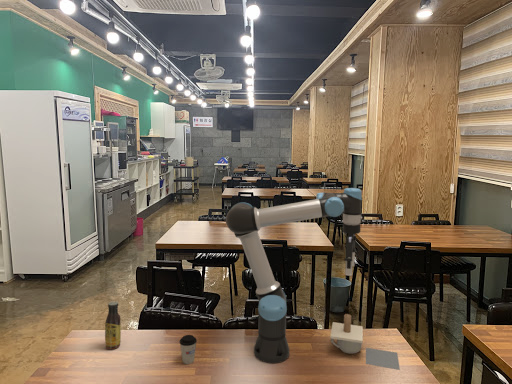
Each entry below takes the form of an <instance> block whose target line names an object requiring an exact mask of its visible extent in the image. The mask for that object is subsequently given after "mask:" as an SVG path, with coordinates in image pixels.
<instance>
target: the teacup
mask: <svg viewBox="0 0 512 384" xmlns="http://www.w3.org/2000/svg"><path fill="white" fill-rule="evenodd" d="M334 340H335V339H332V338H330V342H331V344H333V345H334V346H335V347H337V349H339V350H341V352H342V353H345V354H348V355H353V354H357V353H360V351H361V350H362V347H363V346H362V345H363V343H358V342H351V341H345V340H338V339H336V342H335V341H334Z"/></svg>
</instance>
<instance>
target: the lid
mask: <svg viewBox="0 0 512 384" xmlns="http://www.w3.org/2000/svg"><path fill="white" fill-rule="evenodd" d="M363 331H364V329H363V325H355V324H352V315H351V314H349V313H345V314H344V315H343V323H341V322H334V321H333V322H332V325H331V331H330V337H329V338H330V339H331V338H332V339H334V340H337V339H338V340H345V341H351V342H358V343H362V344H363V342H364V341H363V339H364V335H363V333H364V332H363Z"/></svg>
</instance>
